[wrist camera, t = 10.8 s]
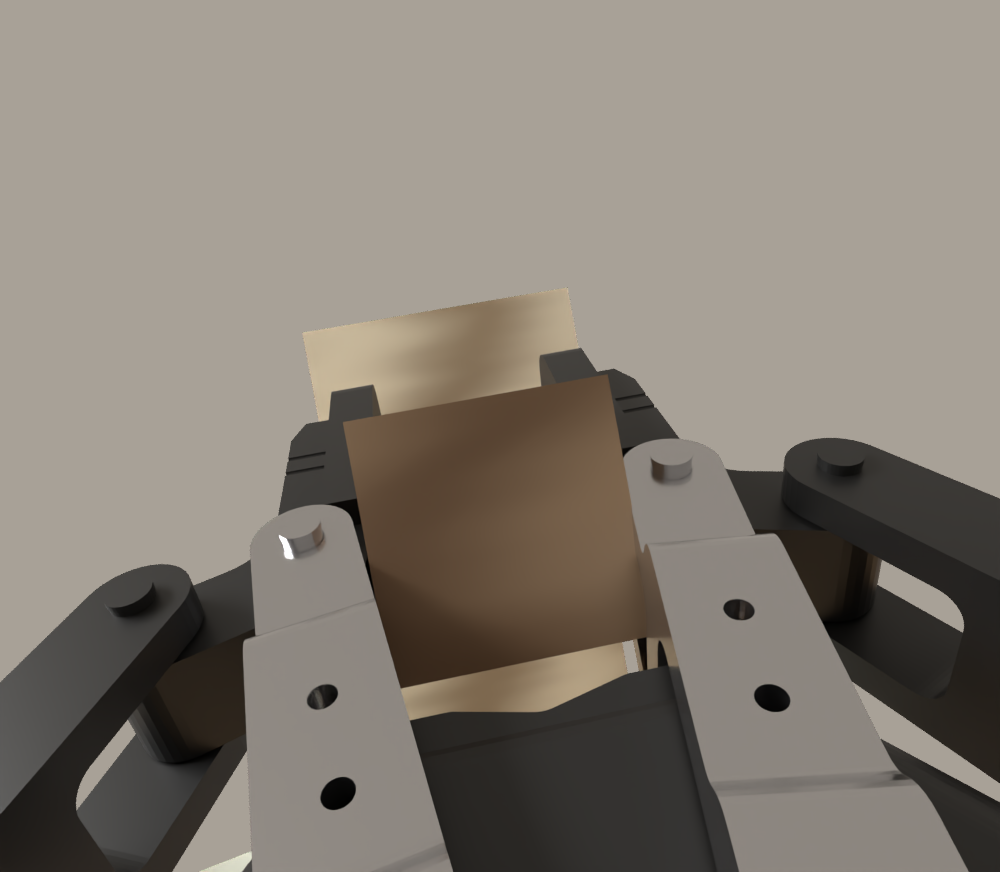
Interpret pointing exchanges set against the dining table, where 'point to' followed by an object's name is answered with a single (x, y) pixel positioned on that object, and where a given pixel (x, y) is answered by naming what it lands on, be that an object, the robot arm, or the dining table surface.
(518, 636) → the brown tan long block
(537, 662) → the wooden block
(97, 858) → the robot arm
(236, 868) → the cream-topped wooden box
